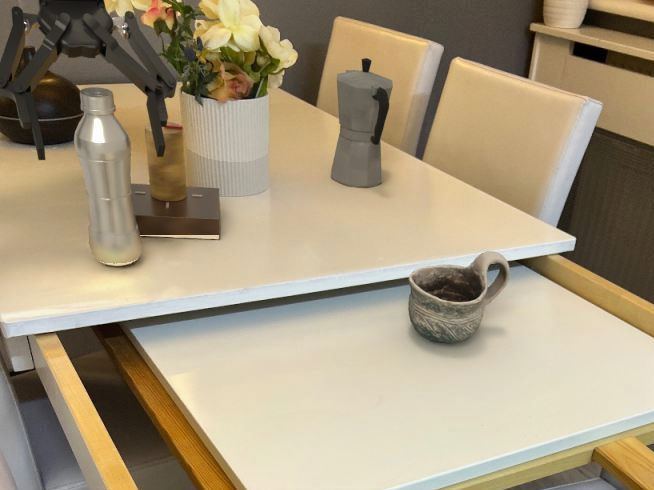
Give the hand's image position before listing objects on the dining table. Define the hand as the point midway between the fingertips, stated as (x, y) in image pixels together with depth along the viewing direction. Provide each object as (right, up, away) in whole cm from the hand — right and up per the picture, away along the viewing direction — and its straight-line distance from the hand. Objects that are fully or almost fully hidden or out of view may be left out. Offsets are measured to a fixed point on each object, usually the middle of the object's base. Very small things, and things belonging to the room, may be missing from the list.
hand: (103, 153), depth 92 cm
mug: (+41, -20, +5) cm, 46 cm away
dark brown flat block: (+3, -1, +19) cm, 19 cm away
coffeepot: (+29, +13, +39) cm, 51 cm away
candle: (+3, +3, +19) cm, 19 cm away
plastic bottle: (-1, -10, +9) cm, 14 cm away
